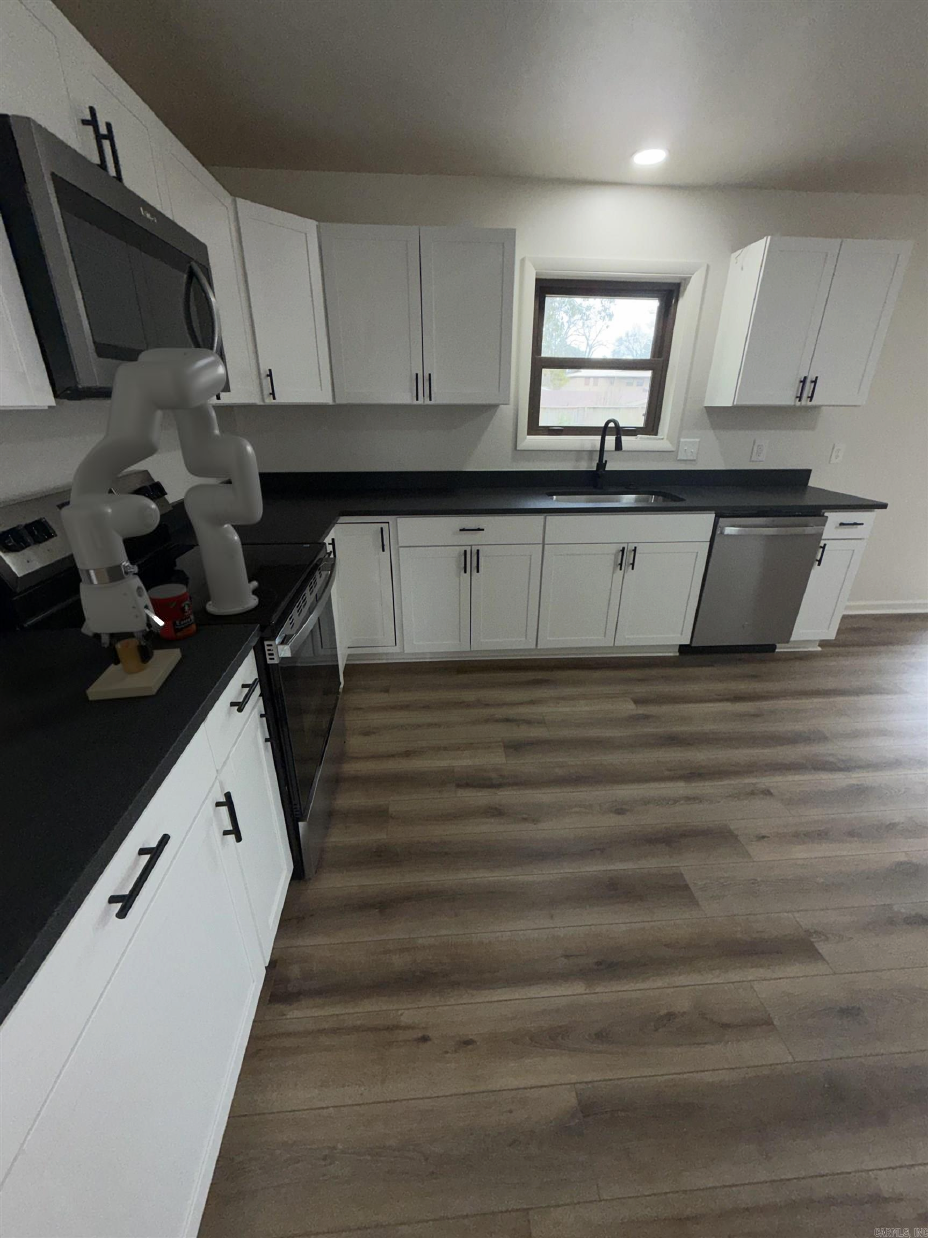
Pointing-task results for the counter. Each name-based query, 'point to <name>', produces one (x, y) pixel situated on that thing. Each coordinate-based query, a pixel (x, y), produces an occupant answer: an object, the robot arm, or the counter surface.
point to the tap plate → (135, 678)
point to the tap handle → (130, 656)
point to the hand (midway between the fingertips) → (133, 660)
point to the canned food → (173, 610)
